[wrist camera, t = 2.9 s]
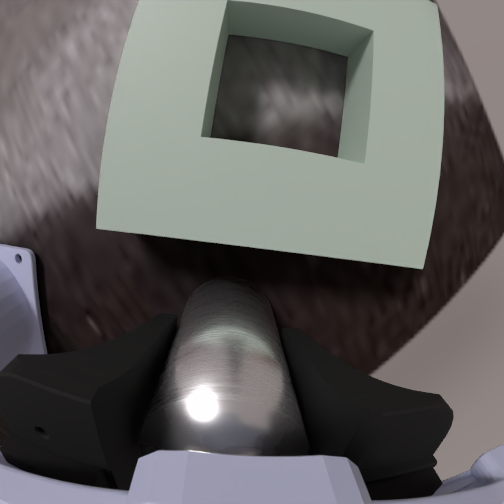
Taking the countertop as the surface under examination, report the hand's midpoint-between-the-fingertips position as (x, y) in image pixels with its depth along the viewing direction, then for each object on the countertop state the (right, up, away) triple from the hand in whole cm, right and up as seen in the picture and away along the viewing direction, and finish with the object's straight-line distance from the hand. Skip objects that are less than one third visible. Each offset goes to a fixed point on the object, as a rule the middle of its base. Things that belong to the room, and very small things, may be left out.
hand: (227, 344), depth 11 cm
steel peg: (0, +1, +2) cm, 2 cm away
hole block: (+2, +10, 0) cm, 10 cm away
